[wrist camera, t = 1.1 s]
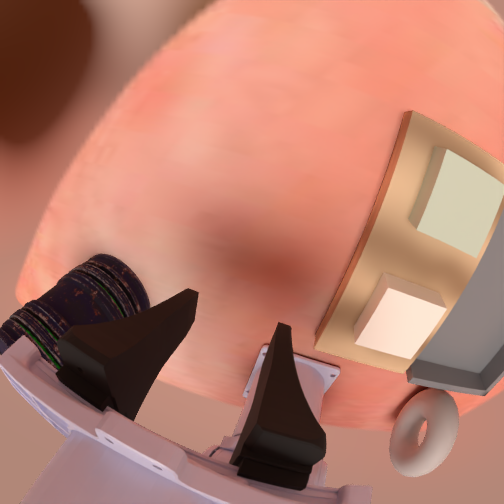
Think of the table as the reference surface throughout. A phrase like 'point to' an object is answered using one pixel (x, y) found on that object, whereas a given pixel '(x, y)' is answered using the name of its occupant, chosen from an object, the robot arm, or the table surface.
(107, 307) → the storage jar
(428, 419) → the donut
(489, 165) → the oak board
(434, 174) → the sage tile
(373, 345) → the cream tile
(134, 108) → the table surface
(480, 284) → the box
